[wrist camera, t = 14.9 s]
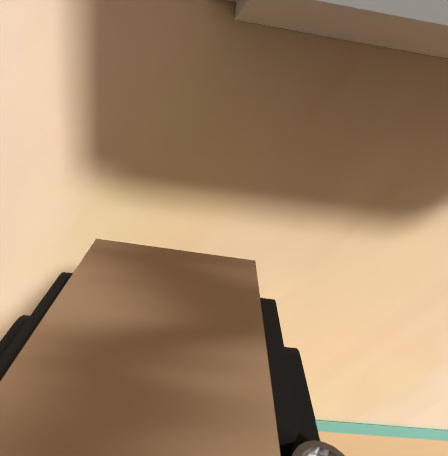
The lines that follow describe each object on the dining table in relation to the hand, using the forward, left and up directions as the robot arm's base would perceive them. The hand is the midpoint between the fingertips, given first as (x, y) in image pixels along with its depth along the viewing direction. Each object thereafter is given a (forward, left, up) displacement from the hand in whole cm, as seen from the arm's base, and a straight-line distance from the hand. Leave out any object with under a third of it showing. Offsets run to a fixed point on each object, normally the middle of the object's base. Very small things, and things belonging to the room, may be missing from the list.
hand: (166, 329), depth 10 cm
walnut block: (0, 0, -1) cm, 1 cm away
